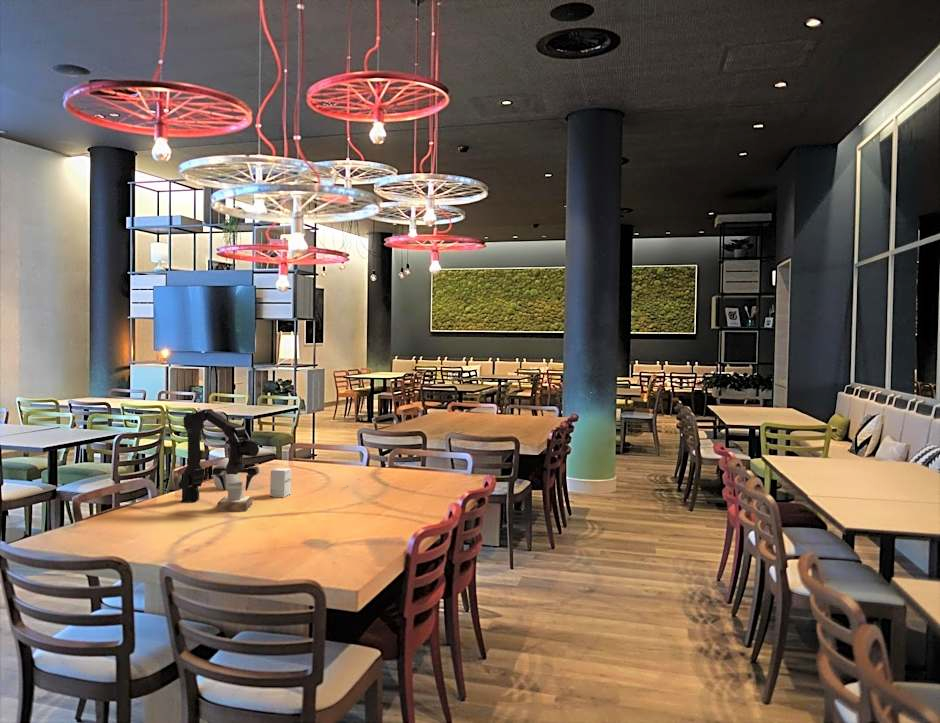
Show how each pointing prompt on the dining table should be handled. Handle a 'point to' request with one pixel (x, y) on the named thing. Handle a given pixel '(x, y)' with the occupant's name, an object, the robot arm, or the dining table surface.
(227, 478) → the decorative egg
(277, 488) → the supplement box
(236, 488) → the grey striped cube
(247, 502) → the stand
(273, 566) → the dining table surface
